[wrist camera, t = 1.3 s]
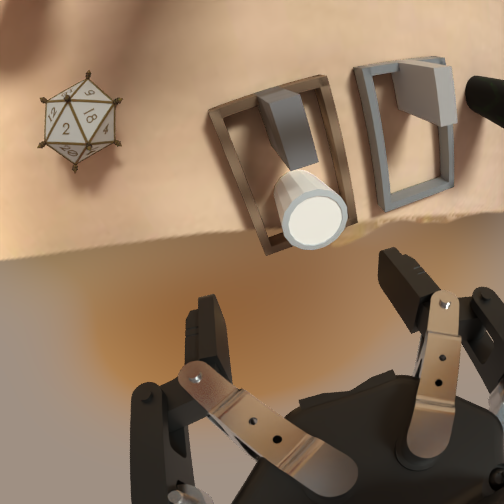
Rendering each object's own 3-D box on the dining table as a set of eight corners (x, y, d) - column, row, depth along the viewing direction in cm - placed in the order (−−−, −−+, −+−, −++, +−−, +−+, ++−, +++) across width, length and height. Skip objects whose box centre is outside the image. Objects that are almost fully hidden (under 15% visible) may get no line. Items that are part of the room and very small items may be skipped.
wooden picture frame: (208, 109, 28) (209, 124, 21) (319, 74, 27) (354, 81, 20) (263, 246, 38) (276, 289, 32) (351, 214, 37) (379, 250, 31)
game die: (119, 110, 29) (149, 160, 26) (55, 147, 27) (70, 206, 24) (98, 46, 21) (121, 82, 18) (22, 89, 19) (21, 141, 16)
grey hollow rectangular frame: (353, 67, 27) (393, 73, 20) (434, 56, 26) (480, 64, 19) (377, 205, 37) (409, 238, 31) (445, 180, 36) (481, 207, 30)
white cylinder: (326, 162, 33) (351, 187, 27) (323, 214, 37) (344, 246, 32) (267, 166, 33) (281, 192, 27) (268, 220, 37) (281, 254, 31)
